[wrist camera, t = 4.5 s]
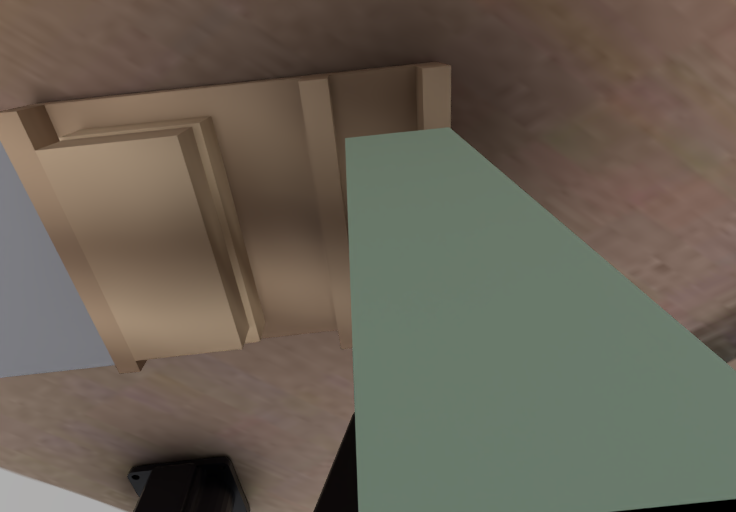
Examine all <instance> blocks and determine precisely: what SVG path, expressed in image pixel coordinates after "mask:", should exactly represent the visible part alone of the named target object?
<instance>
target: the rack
mask: <svg viewBox="0 0 736 512" xmlns="http://www.w3.org/2000/svg"><path fill="white" fill-rule="evenodd" d="M203 116H211V117H212V121H213V125H214V129H215V132H216V136H217V140H218V144H219V148H220V151H221V155H222V159H223V163H224V167H225V170H226V174H227V178H228V182H229V186H230V190H231V193H232V197H233V201H234V205H235V209H236V212H237V216H238V220H239V224H240V228H241V231H242V235H243V239H244V243H245V247H246V250H247V254H248V258H249V262H250V266H251V269H252V273H253V277H254V281H255V285H256V289H257V292H258V296H259V300H260V304H261V308H262V311H263V315H264V319H265V325H264V329H263V333H262V337H261V339H262V338H271V337H280V336H289V335H298V334H307V333H316V332H325V331H334V330H338V334H339V340H340V346H341V349H348V348H353V345H352V318H351V290H350V262H349V234H348V206H347V178H346V150H345V138H351V137H361V136H370V135H380V134H389V133H399V132H408V131H418V130H427V129H437V128H446V127H449V128H451V65H447V64H443V63H440V62H428V63H419V64H409V65H400V66H390V67H381V68H371V69H362V70H352V71H342V72H333V73H323V74H314V75H304V76H295V77H285V78H276V79H266V80H257V81H247V82H238V83H228V84H219V85H209V86H199V87H190V88H180V89H171V90H161V91H152V92H142V93H133V94H123V95H114V96H104V97H95V98H85V99H76V100H66V101H56V102H47V103H37V104H31V105H27V106H22V107H18V108H13V109H9V110H4V111H0V141H1V143H2V145H3V147H4V149H5V151H6V153H7V155H8V157H9V159H10V161H11V163H12V164H13V166H14V168H15V170H16V172H17V174H18V176H19V178H20V180H21V182H22V184H23V186H24V188H25V190H26V192H27V194H28V196H29V198H30V200H31V202H32V204H33V206H34V207H35V209H36V211H37V213H38V215H39V217H40V219H41V221H42V223H43V225H44V227H45V229H46V231H47V233H48V235H49V237H50V239H51V241H52V243H53V245H54V247H55V249H56V250H57V252H58V254H59V256H60V258H61V260H62V262H63V264H64V266H65V268H66V270H67V272H68V274H69V276H70V278H71V280H72V282H73V284H74V286H75V288H76V290H77V292H78V293H79V295H80V297H81V299H82V301H83V303H84V305H85V307H86V309H87V311H88V313H89V315H90V317H91V319H92V321H93V323H94V325H95V327H96V329H97V331H98V333H99V335H100V336H101V338H102V340H103V342H104V344H105V346H106V348H107V350H108V352H109V354H110V356H111V358H112V360H113V362H114V364H115V366H116V368H117V370H118V372H119V374H122V373H131V372H140V371H141V370H142V368H143V366H144V365H145V363H146V361H147V360H148V359H147V360H138V361H135V359H134V357H133V355H132V353H131V351H130V349H129V347H128V345H127V343H126V340H125V338H124V336H123V334H122V332H121V330H120V328H119V326H118V324H117V322H116V320H115V317H114V315H113V313H112V311H111V309H110V307H109V305H108V303H107V301H106V299H105V297H104V294H103V292H102V290H101V288H100V286H99V284H98V282H97V280H96V278H95V276H94V273H93V271H92V269H91V267H90V265H89V263H88V261H87V259H86V257H85V255H84V253H83V250H82V248H81V246H80V244H79V242H78V240H77V238H76V236H75V234H74V232H73V229H72V227H71V225H70V223H69V221H68V219H67V217H66V215H65V213H64V211H63V209H62V206H61V204H60V202H59V200H58V198H57V196H56V194H55V192H54V190H53V188H52V186H51V183H50V181H49V179H48V177H47V175H46V173H45V171H44V169H43V167H42V165H41V162H40V160H39V158H38V156H37V154H36V152H35V150H38V149H41V148H43V147H46V146H49V145H51V144H54V143H57V142H59V141H60V140H59V137H62V136H65V135H67V134H70V133H73V132H76V131H79V130H81V129H90V128H99V127H109V126H118V125H128V124H137V123H146V122H156V121H165V120H175V119H184V118H194V117H203Z"/></svg>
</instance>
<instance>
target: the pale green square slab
mask: <svg viewBox="0 0 736 512" xmlns="http://www.w3.org/2000/svg"><path fill="white" fill-rule="evenodd" d="M345 150H346V178H347V206H348V234H349V262H350V290H351V318H352V345H353V373H354V401H355V429H356V457H357V485H358V512H736V371H735V370H734V369H733V368H732V367H730V366H729V365H728V364H727V363H726V362H725V361H723V360H722V359H721V358H720V357H719V356H717V355H716V354H715V353H714V352H713V351H712V350H710V349H709V348H708V347H707V346H706V345H705V344H703V343H702V342H701V341H700V340H699V339H697V338H696V337H695V336H694V335H693V334H692V333H690V332H689V331H688V330H687V329H686V328H685V327H683V326H682V325H681V324H680V323H679V322H678V321H676V320H675V319H674V318H673V317H672V316H670V315H669V314H668V313H667V312H666V311H665V310H663V309H662V308H661V307H660V306H659V305H658V304H656V303H655V302H654V301H653V300H652V299H650V298H649V297H648V296H647V295H646V294H645V293H643V292H642V291H641V290H640V289H639V288H638V287H636V286H635V285H634V284H633V283H632V282H630V281H629V280H628V279H627V278H626V277H625V276H623V275H622V274H621V273H620V272H619V271H618V270H616V269H615V268H614V267H613V266H612V265H611V264H609V263H608V262H607V261H606V260H605V259H603V258H602V257H601V256H600V255H599V254H598V253H596V252H595V251H594V250H593V249H592V248H591V247H589V246H588V245H587V244H586V243H585V242H583V241H582V240H581V239H580V238H579V237H578V236H576V235H575V234H574V233H573V232H572V231H571V230H569V229H568V228H567V227H566V226H565V225H563V224H562V223H561V222H560V221H559V220H558V219H556V218H555V217H554V216H553V215H552V214H551V213H549V212H548V211H547V210H546V209H545V208H543V207H542V206H541V205H540V204H539V203H538V202H536V201H535V200H534V199H533V198H532V197H531V196H529V195H528V194H527V193H526V192H525V191H524V190H522V189H521V188H520V187H519V186H518V185H516V184H515V183H514V182H513V181H512V180H511V179H509V178H508V177H507V176H506V175H505V174H504V173H502V172H501V171H500V170H499V169H498V168H496V167H495V166H494V165H493V164H492V163H491V162H489V161H488V160H487V159H486V158H485V157H484V156H482V155H481V154H480V153H479V152H478V151H476V150H475V149H474V148H473V147H472V146H471V145H469V144H468V143H467V142H466V141H465V140H464V139H462V138H461V137H460V136H459V135H458V134H456V133H455V132H454V131H453V130H452V129H451V128H449V127H446V128H437V129H427V130H418V131H408V132H399V133H389V134H380V135H370V136H361V137H351V138H345Z"/></svg>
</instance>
